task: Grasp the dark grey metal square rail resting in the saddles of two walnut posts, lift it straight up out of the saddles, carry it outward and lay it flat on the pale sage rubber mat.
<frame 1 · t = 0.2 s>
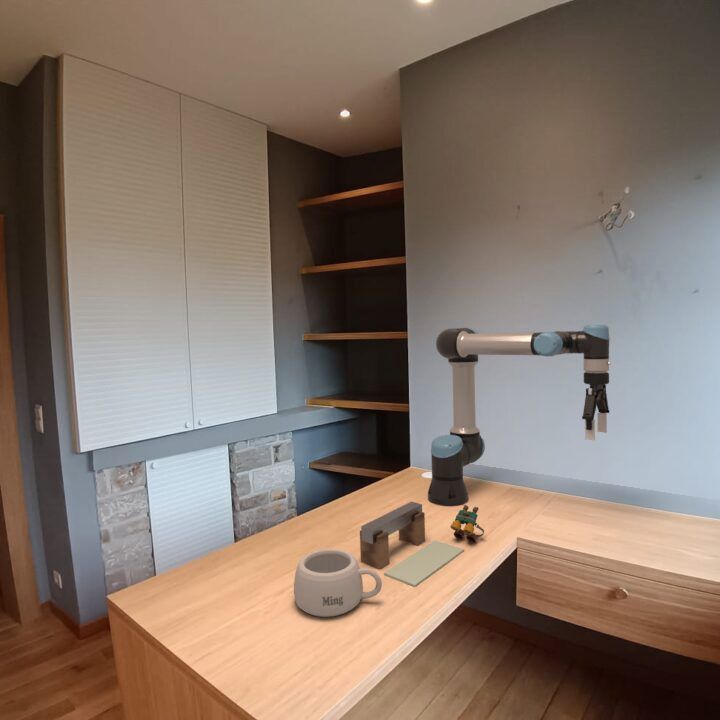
hand: (596, 435, 159), 28 cm above the table, fingers open, 13 cm apart
rail: (393, 528, 141), point 7 cm above the table, touching rack
mug: (338, 602, 116), on the table
rack: (394, 551, 141), on the table
binoculars: (466, 541, 147), on the table
mat: (425, 562, 134), on the table
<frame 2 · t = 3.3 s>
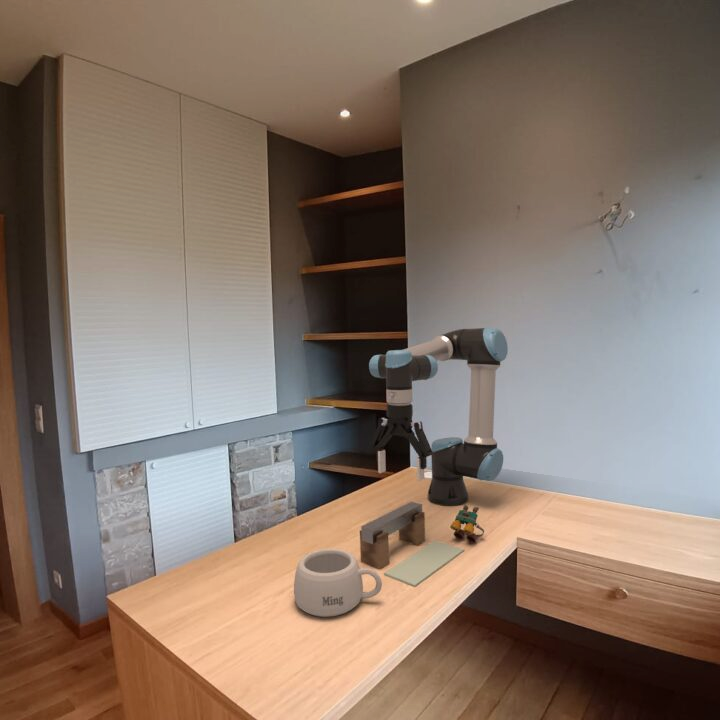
hand: (400, 475, 140), 22 cm above the table, fingers open, 13 cm apart
nothing on the table moved.
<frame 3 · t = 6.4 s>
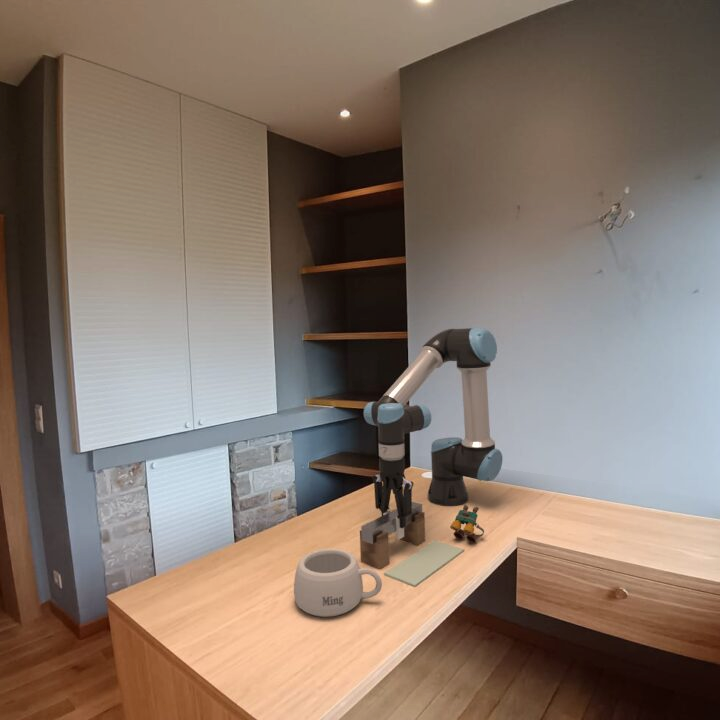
hand: (393, 535, 141), 5 cm above the table, fingers closed on rail, 4 cm apart
rail: (393, 528, 141), point 7 cm above the table, touching gripper, rack
everything else where it was.
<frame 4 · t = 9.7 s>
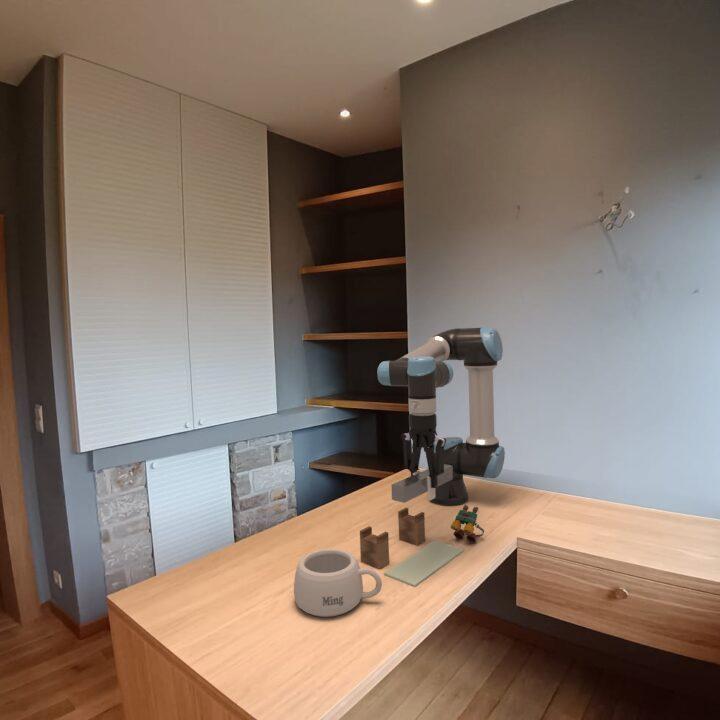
hand: (424, 496, 133), 19 cm above the table, fingers closed on rail, 4 cm apart
rail: (424, 488, 133), point 21 cm above the table, touching gripper
everything else where it was.
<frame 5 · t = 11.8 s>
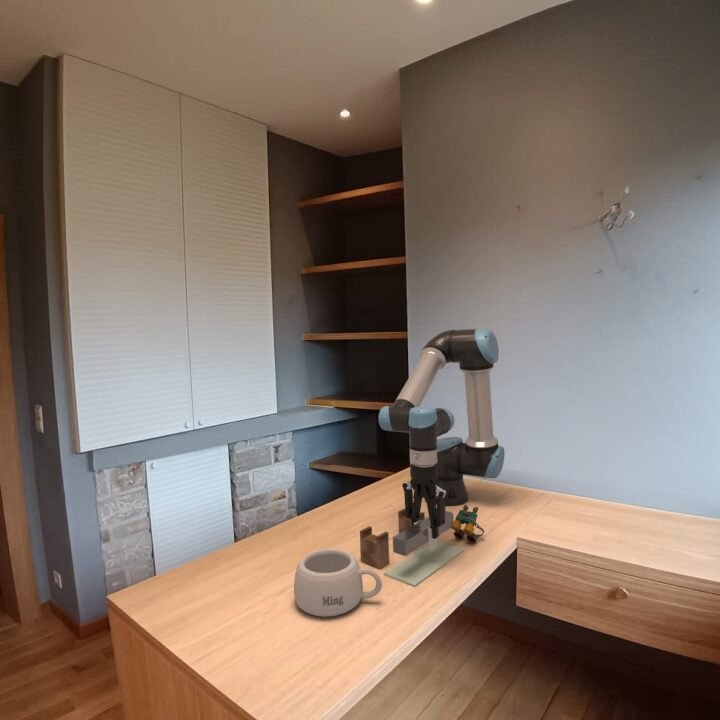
hand: (425, 546, 133), 5 cm above the table, fingers closed on rail, 4 cm apart
rail: (425, 538, 133), point 7 cm above the table, touching gripper
everything else where it was.
when the fingers open (1 cm above the table, at t = 13.3 s): rail drops 3 cm, resting on mat.
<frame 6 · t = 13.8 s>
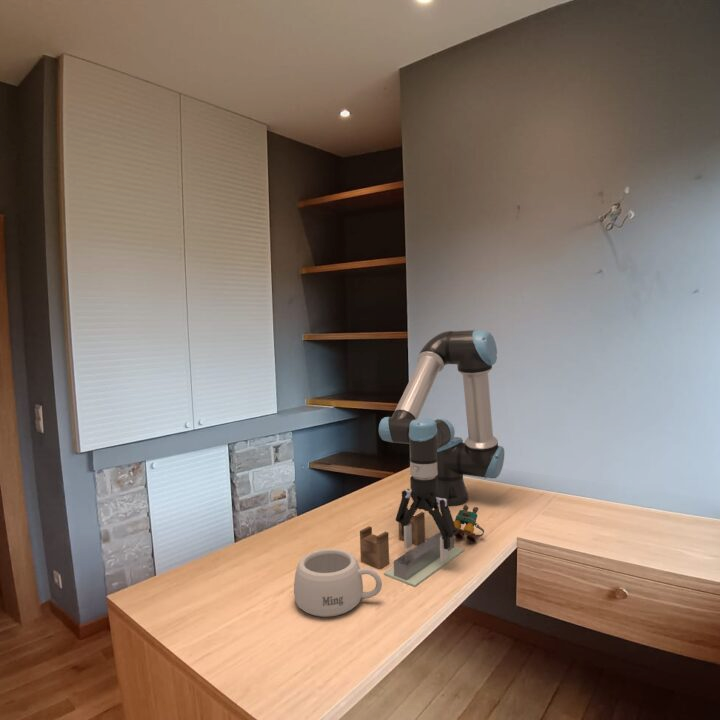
hand: (425, 553, 134), 3 cm above the table, fingers open, 11 cm apart
rail: (425, 560, 134), resting on mat
everything else where it was.
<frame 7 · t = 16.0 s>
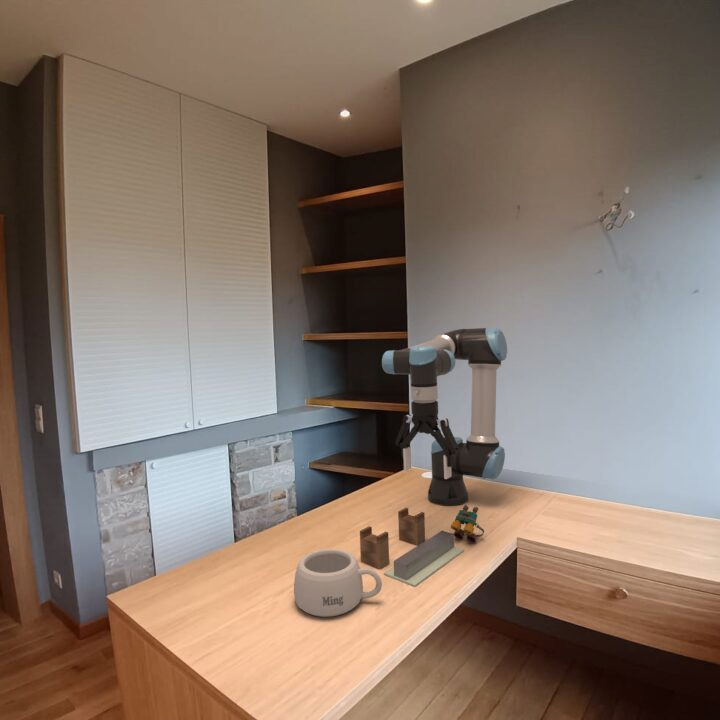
hand: (427, 473, 138), 23 cm above the table, fingers open, 13 cm apart
nothing on the table moved.
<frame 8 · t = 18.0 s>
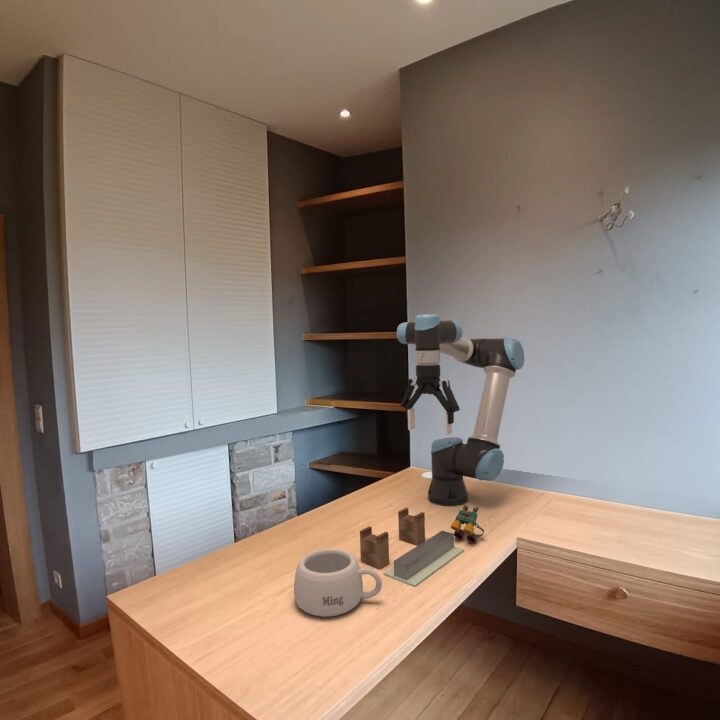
hand: (429, 431, 151), 33 cm above the table, fingers open, 13 cm apart
nothing on the table moved.
at the end: rail inside the target area on the mat (0.0 cm from its centre), point 0.5 cm above the mat's base; rail touching mat; the gripper is holding nothing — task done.
